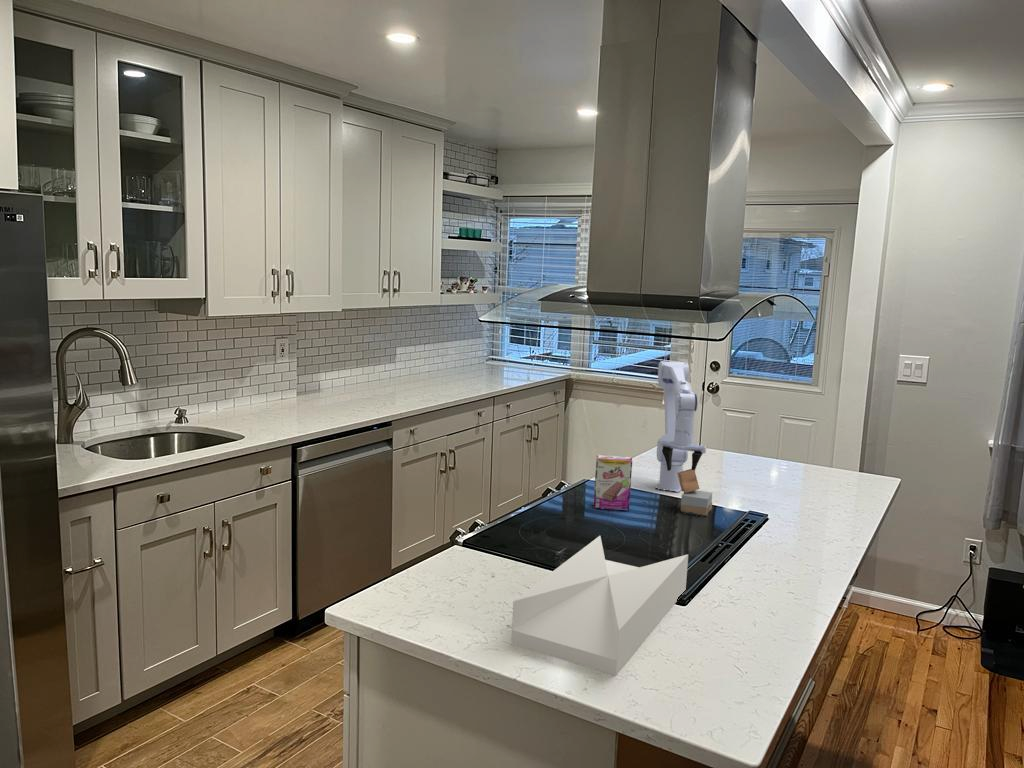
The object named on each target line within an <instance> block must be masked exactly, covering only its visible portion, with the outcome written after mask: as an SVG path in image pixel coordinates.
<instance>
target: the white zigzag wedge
mask: <svg viewBox="0 0 1024 768" xmlns="http://www.w3.org/2000/svg"><path fill="white" fill-rule="evenodd" d="M688 563H689V554H685V555H684V554H683V555H681V556H677V557H673V558H669V559H666V560H662V561H659V562H655V563H651V564H648V565H644V566H639V567H638V566H636V565H630V564H625V563H622V562H616V561H613V560H608V559H606V558H605V552H604V547H603V542H602V537H601V535H599V536H597V537H596V538H594V540H592V541H590V543H588V544H587V545H586V546H584V547H583V548H581V549H580V550H579V551H578V552H576V553H575V554H574V555H572V556H571V557H570V558H568V559H567V560H566V561H564V562H563V563H561V564H560V565H559V566H558V567H556V568H555V569H553V571H551V572H550V573H548V574H547V575H546V576H544V577H543V578H542V579H541V580H539V581H538V582H536V583H535V584H534V585H532V586H531V587H530V588H528V589H527V590H526V591H525V592H523V593H522V594H521V595H519V596H518V597H517V598H516V599H514V600H513V601H512V617H511V618H512V620H511V621H512V623H511V645H513V646H516V647H519V648H522V649H526V650H529V651H532V652H536V653H539V654H543V655H547V656H550V657H552V658H555V659H558V660H562V661H566V662H569V663H573V664H576V665H580V666H582V667H586V668H589V669H593V670H595V671H599V672H603V673H606V674H609V675H612V676H615V677H617V675H618V674H619V673H620V672H621V671H622V669H623V668H624V667H625V666H626V665H627V664H628V662H629V661H630V660H631V658H632V657H633V656H634V655H635V654H636V652H637V651H638V650H639V649H640V647H641V646H642V645H643V644H644V643H645V641H646V640H647V639H648V637H649V636H650V635H651V634H652V633H653V631H654V630H655V629H656V628H657V627H658V626H659V624H660V622H661V621H662V620H663V619H664V618H665V617H666V615H667V614H668V613H669V612H670V611H671V610H672V608H673V607H674V606H675V605H676V603H677V602H678V601H677V599H678V597H679V596H680V595H681V594H682V593H683V592H684V591H685V590H686V591H687V589H686V588H687V576H688ZM686 591H685V592H686ZM685 592H684V593H685ZM684 593H683V594H684ZM683 594H682V595H683ZM678 600H679V599H678Z"/></svg>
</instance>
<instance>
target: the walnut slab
mask: <svg viewBox="0 0 1024 768" xmlns="http://www.w3.org/2000/svg"><path fill="white" fill-rule="evenodd" d="M711 509H712V510H713V501H712V502H711V504H710V505H709V507H708V508H707V509H706V508H699V507H693V506H687V505H681V504H680V510H681V511H685V512H693V513H698V514H703V515H707V514H708V512H709V511H710V510H711ZM712 510H711V511H712ZM708 515H709V514H708ZM708 515H707V516H708Z"/></svg>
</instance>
